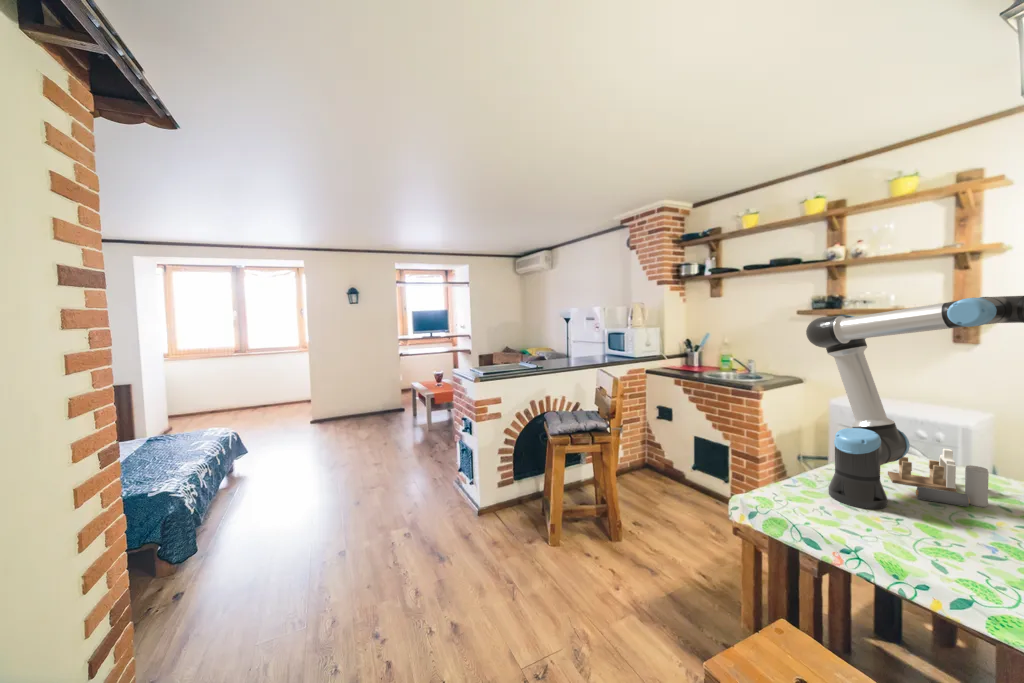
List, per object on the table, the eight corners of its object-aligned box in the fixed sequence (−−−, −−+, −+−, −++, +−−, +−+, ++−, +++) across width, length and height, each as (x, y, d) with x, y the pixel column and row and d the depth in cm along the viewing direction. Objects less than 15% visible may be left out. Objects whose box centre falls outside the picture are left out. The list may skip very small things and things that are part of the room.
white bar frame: (946, 487, 135) (947, 453, 134) (939, 478, 142) (939, 445, 141) (955, 488, 133) (956, 454, 133) (947, 479, 140) (947, 446, 140)
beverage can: (992, 507, 122) (993, 471, 122) (974, 507, 123) (975, 470, 123) (977, 500, 127) (978, 465, 126) (960, 500, 128) (960, 465, 127)
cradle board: (892, 482, 143) (892, 461, 142) (887, 473, 150) (887, 453, 149) (956, 492, 133) (957, 469, 133) (948, 482, 140) (948, 461, 140)
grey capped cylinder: (915, 499, 132) (918, 497, 129) (914, 487, 133) (916, 485, 131) (967, 508, 125) (971, 506, 122) (965, 495, 126) (969, 493, 124)
